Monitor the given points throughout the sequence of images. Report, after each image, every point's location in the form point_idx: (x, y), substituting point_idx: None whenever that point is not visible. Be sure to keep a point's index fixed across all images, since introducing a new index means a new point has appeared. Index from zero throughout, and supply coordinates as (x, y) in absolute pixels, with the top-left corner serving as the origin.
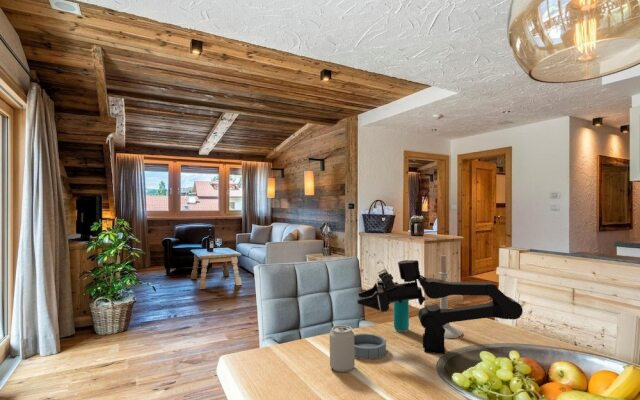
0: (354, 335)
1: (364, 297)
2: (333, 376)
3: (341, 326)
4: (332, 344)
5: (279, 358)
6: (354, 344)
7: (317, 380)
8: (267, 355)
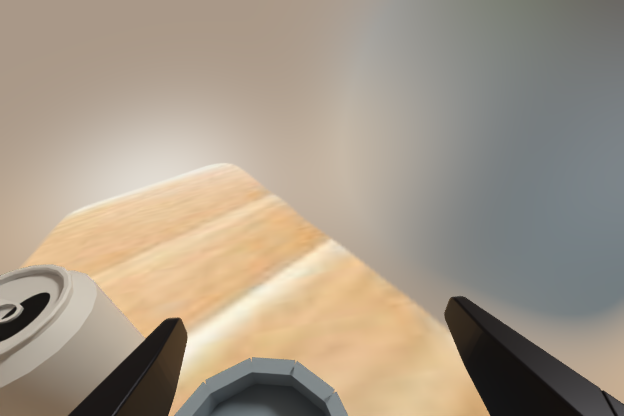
0: (317, 389)
1: (474, 382)
2: None
3: (60, 303)
4: (31, 307)
5: (211, 219)
6: (295, 403)
7: None
8: (228, 200)
